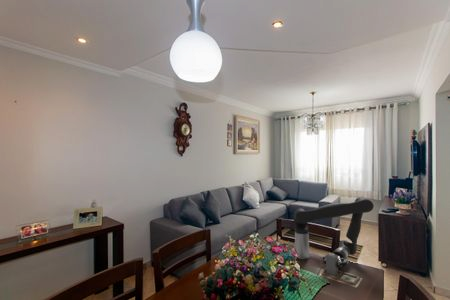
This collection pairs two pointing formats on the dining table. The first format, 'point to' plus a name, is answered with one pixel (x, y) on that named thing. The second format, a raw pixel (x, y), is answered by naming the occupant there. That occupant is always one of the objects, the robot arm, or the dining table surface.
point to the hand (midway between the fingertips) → (330, 264)
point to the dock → (343, 278)
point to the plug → (331, 264)
